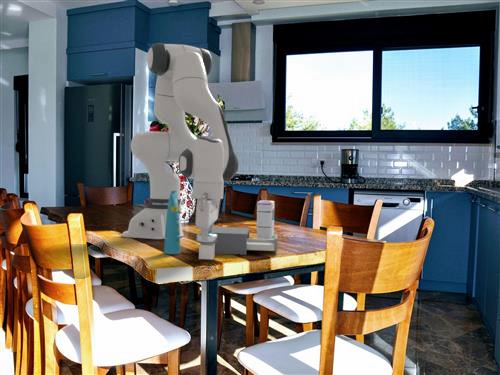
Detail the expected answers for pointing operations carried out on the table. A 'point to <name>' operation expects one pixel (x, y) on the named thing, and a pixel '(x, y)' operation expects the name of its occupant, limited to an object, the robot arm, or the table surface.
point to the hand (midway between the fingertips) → (206, 239)
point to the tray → (262, 244)
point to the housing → (231, 240)
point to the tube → (172, 226)
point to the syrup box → (265, 219)
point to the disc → (211, 238)
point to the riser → (207, 251)
